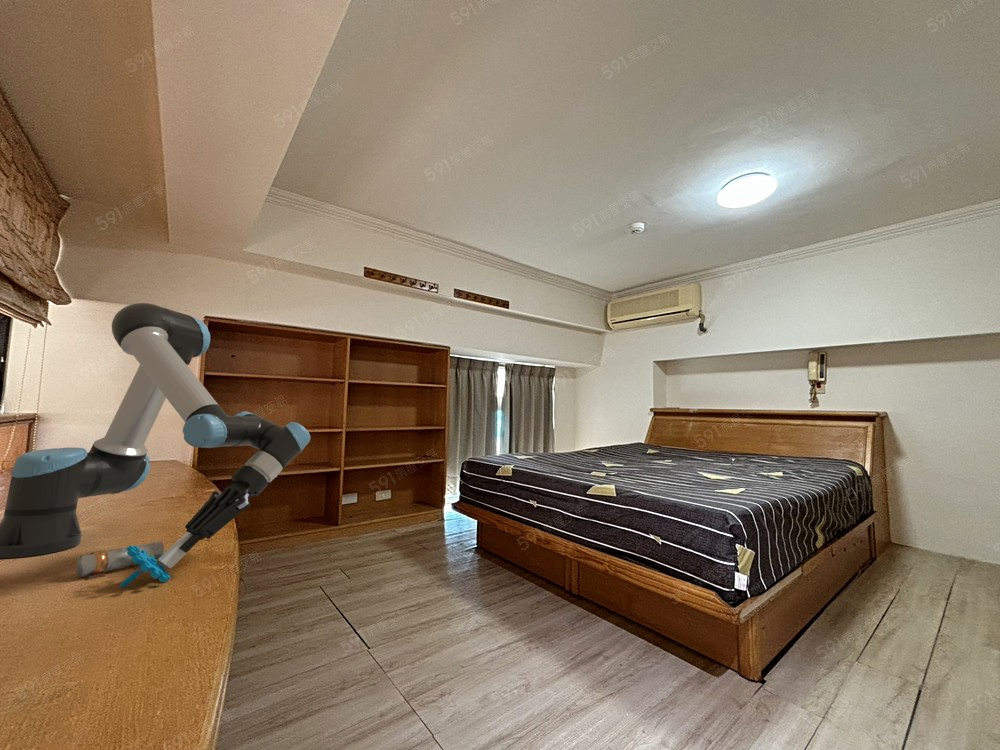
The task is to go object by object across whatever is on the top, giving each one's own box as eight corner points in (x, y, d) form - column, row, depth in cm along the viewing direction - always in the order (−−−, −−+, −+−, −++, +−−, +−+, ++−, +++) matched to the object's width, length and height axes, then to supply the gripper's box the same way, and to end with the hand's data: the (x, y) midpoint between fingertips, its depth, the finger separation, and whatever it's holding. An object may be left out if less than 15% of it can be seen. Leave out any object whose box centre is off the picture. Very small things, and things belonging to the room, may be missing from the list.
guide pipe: (74, 575, 81) (78, 551, 82) (153, 558, 92) (156, 538, 93) (83, 581, 79) (87, 556, 79) (162, 563, 90) (166, 541, 91)
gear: (171, 580, 77) (129, 545, 75) (138, 608, 74) (93, 573, 72) (176, 570, 86) (139, 539, 84) (147, 595, 83) (108, 563, 81)
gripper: (281, 487, 97) (193, 581, 80) (251, 481, 103) (162, 567, 87) (262, 466, 93) (165, 560, 77) (232, 461, 99) (135, 547, 83)
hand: (164, 564), depth 82 cm, fingers closed
